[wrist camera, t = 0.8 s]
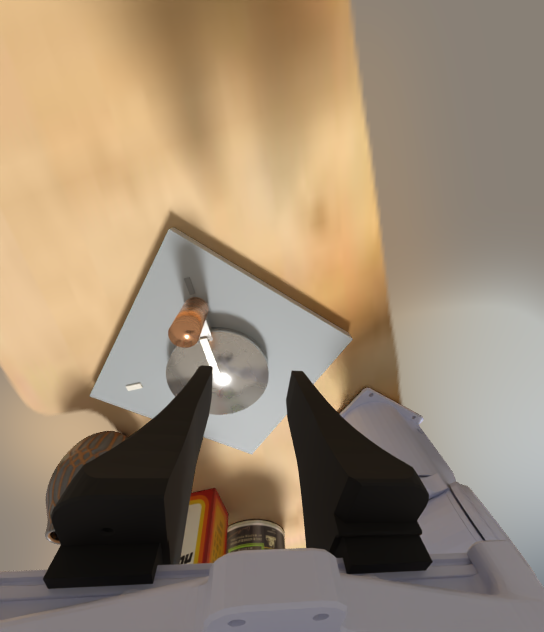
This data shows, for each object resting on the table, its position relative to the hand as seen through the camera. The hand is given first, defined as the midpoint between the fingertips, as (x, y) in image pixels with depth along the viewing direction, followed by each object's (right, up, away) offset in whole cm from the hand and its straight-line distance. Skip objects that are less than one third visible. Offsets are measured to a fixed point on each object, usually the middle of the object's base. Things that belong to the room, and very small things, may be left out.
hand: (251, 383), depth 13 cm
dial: (-4, 0, +10) cm, 10 cm away
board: (-4, -1, +12) cm, 12 cm away
